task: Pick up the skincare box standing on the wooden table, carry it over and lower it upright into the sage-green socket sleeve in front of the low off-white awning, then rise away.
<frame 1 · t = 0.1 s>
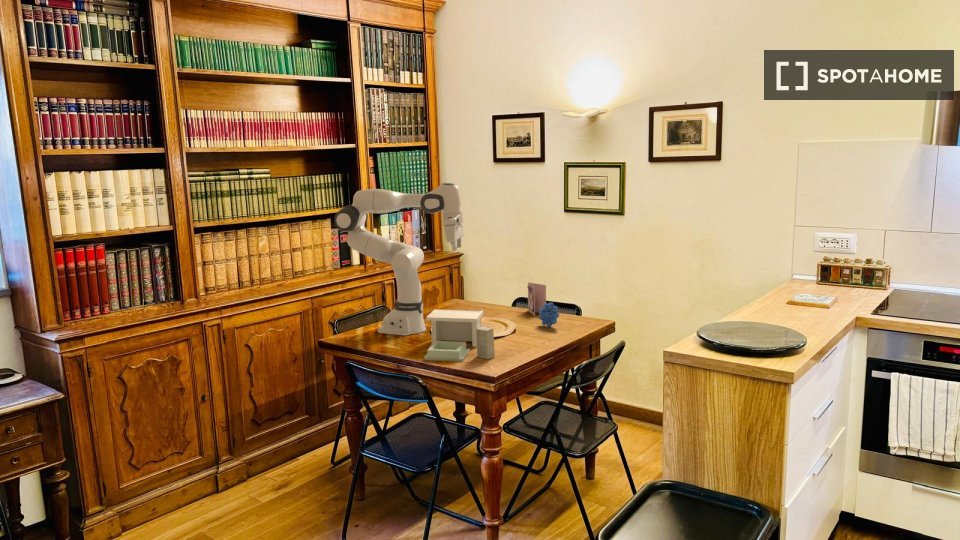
hand: (457, 249, 311), 39 cm above the table, tool pointing down, fingers open, 8 cm apart
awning: (455, 344, 299), on the table
skincare box: (485, 357, 281), on the table
socket: (447, 355, 284), on the table
grapes: (550, 326, 325), on the table
greeting card: (536, 313, 351), on the table
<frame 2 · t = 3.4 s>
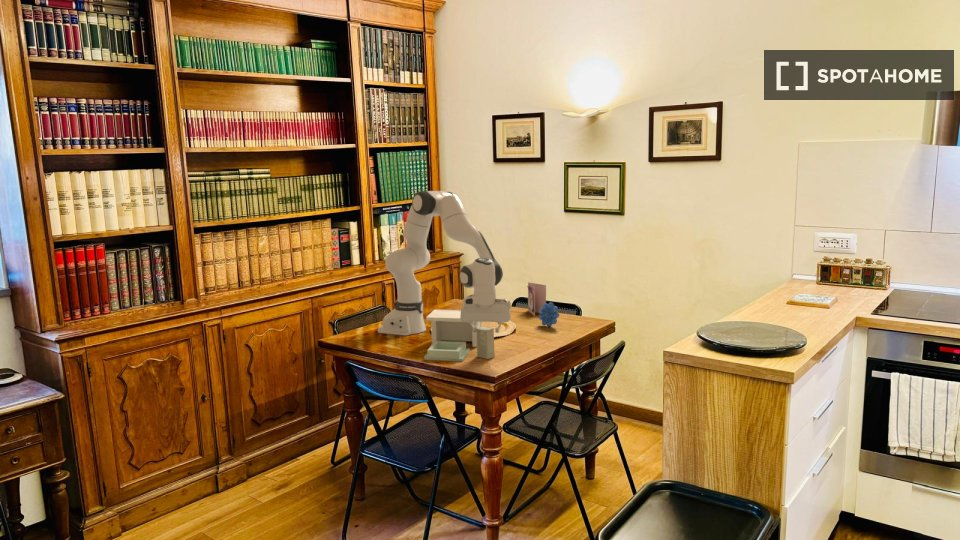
hand: (485, 332, 278), 11 cm above the table, tool pointing down, fingers open, 8 cm apart
nothing on the table moved.
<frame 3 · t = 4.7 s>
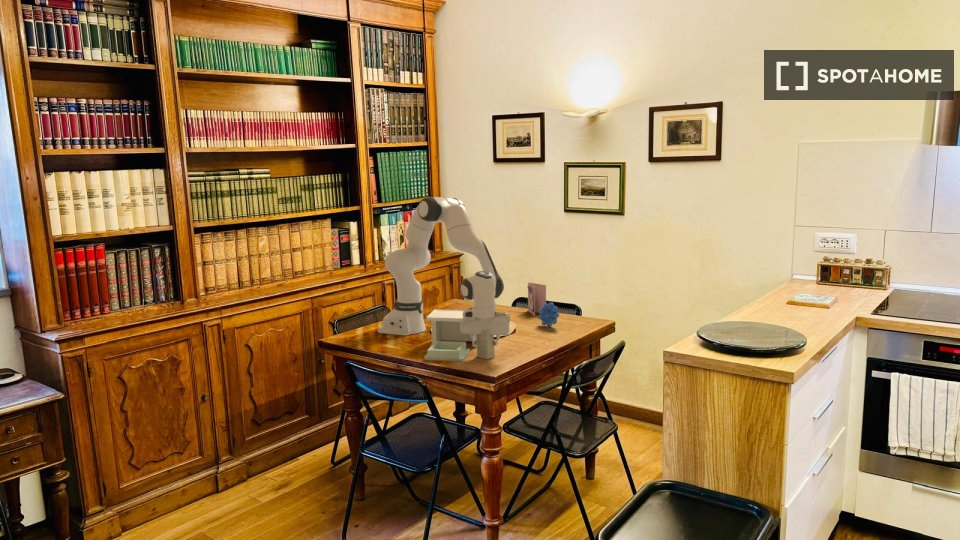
hand: (485, 344, 280), 5 cm above the table, tool pointing down, fingers closed on skincare box, 7 cm apart
skincare box: (485, 357, 281), on the table, touching gripper
everything else where it was.
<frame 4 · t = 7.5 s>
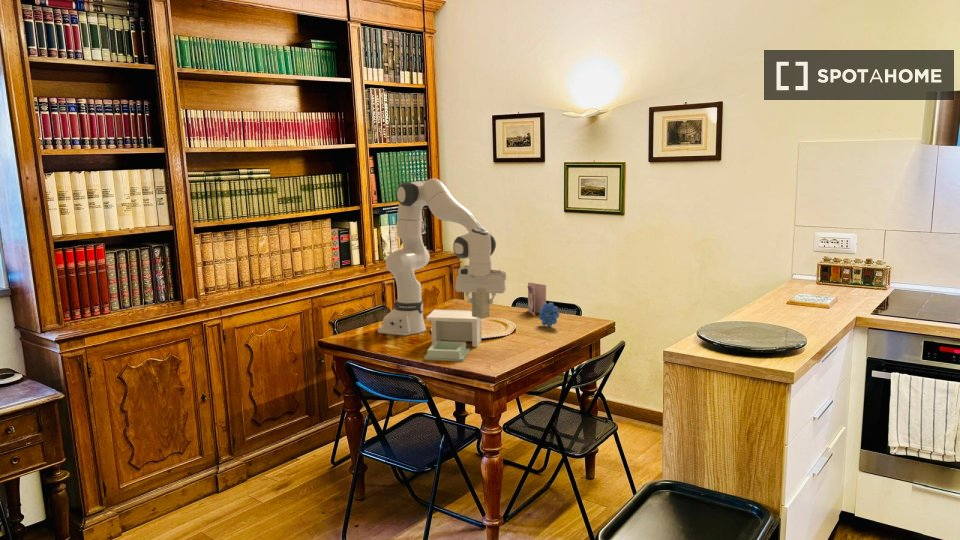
hand: (480, 303, 277), 22 cm above the table, tool pointing down, fingers closed on skincare box, 7 cm apart
skincare box: (480, 317, 278), point 17 cm above the table, touching gripper
everything else where it was.
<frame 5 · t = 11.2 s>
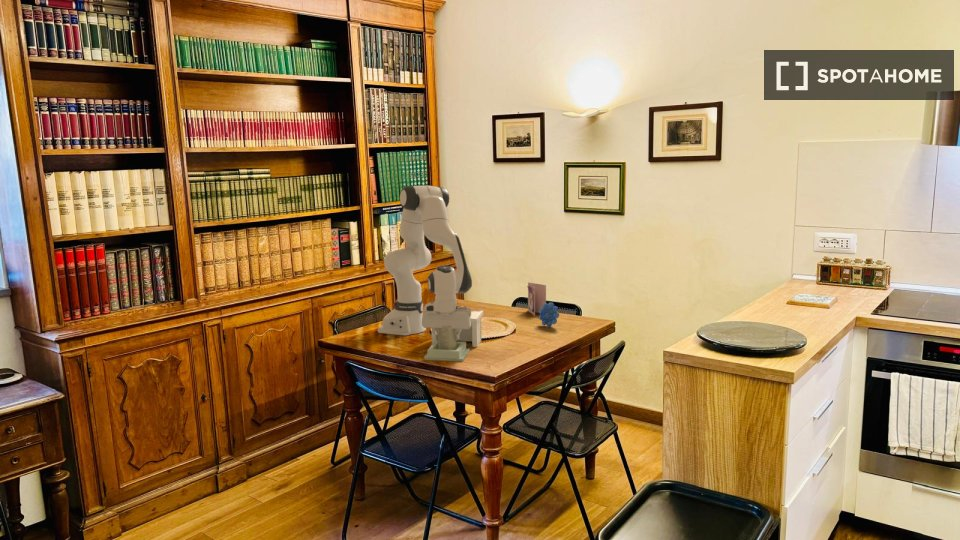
hand: (446, 338, 282), 7 cm above the table, tool pointing down, fingers closed on skincare box, 7 cm apart
skincare box: (447, 353, 283), point 1 cm above the table, touching gripper, socket
everything else where it was.
when the fingers open (7 cm above the table, at t = 11.9 s): skincare box stays where it is, resting on socket.
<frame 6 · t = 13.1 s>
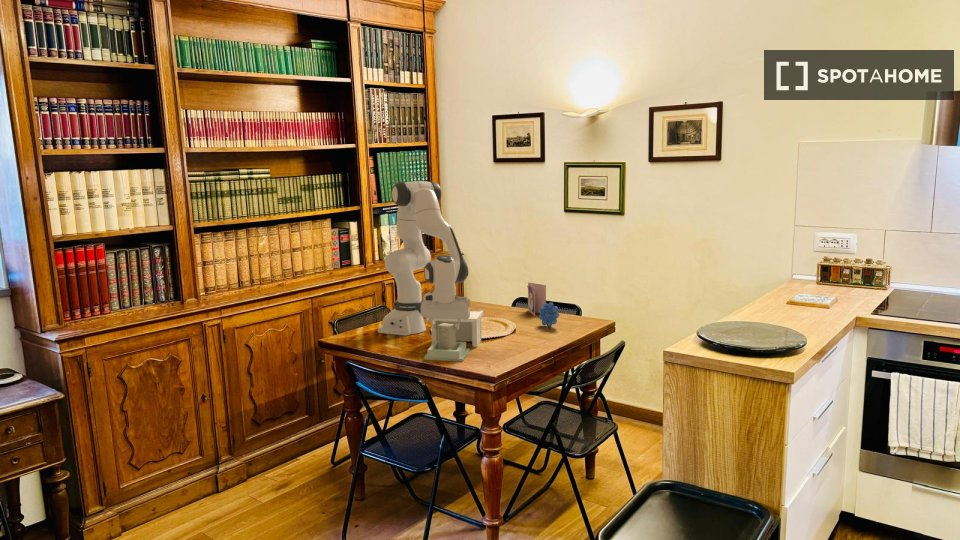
hand: (445, 328, 282), 11 cm above the table, tool pointing down, fingers open, 8 cm apart
skincare box: (447, 353, 283), point 1 cm above the table, touching gripper, socket
everything else where it was.
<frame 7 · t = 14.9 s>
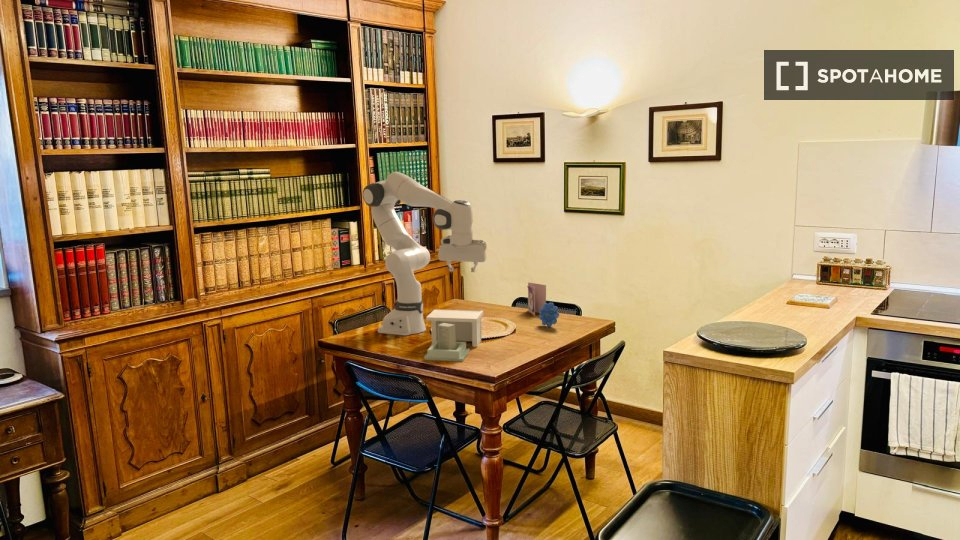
hand: (462, 271, 291), 32 cm above the table, tool pointing down, fingers open, 8 cm apart
skincare box: (447, 353, 283), point 1 cm above the table, touching socket
everything else where it was.
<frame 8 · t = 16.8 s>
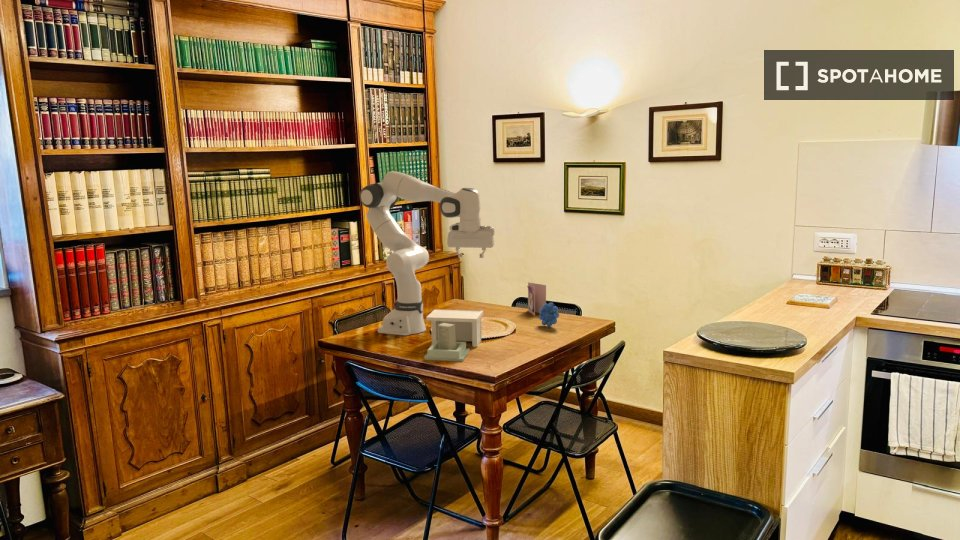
hand: (470, 257, 298), 37 cm above the table, tool pointing down, fingers open, 8 cm apart
nothing on the table moved.
at the end: skincare box 0.1 cm off-centre on the socket, point 0.8 cm above the socket's base; skincare box tilted 0°; the gripper is holding nothing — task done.
